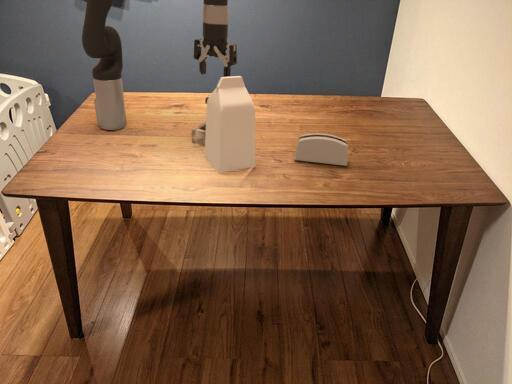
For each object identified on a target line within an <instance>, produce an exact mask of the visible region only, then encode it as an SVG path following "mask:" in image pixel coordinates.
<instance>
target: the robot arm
mask: <svg viewBox="0 0 512 384" xmlns="http://www.w3.org/2000/svg"><path fill="white" fill-rule="evenodd" d="M115 1H116V0H86V6H85V7H86V9H85V14H84V20H83V27H82V34H81V44H82V48H83V50H84V52H85V54H86V55H87V57H89V58H92V59H99V62H98V63H97V64H96V65H95V66H94V67H93V68H92V71H91V72H92V81H93V88H94V95H95V96H94V97H95V98H94V99H93V102H94V109H95V110H94V111H95V115H96V116H95V117H96V122H97V126H99V127H100V129H102V130H105V131H106V130H108V131H109V130H110V131H111V130H113V131H115V130H120V129H123V128H126V127H127V124H128V123H127V114H126V105H125V97H124V95H125V94H124V86H123V79H122V71H123V66H124V65H123V63H124V62H123V47H122V39H121V37H120V35H119V32H118V31H117V30H116V29H115V27H113V26H111V25H106V23H107V17H108V15H109V12H110V10H111V9H112V6H113V5H114V3H115ZM228 1H229V0H203V9H202V37H203V38H197V39H194V40H193V45H194V46H193V59H194V60H196V61H198V62H199V64H198V65H199V66H198V67H199V69H198V70H199V73H200V74H201V75H206V74H207V61H206V60H207V59H208V58H209V57H214V58H219V60H220V61H221V62H222V64H223V65H224V66H223V77H231V69H232V68H231V67H232V66H235V65H237V63H238V59H237V57H238V54H237V53H238V52H237V51H238V50H237V44H235V43H234V44H229V43H228V38H229V37H228V35H229V34H228V30H229V8H228V7H229V6H228V3H229V2H228ZM202 47H203V48H204V49H203V51H202Z"/></svg>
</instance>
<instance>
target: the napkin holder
mask: <svg viewBox="0 0 512 384" xmlns="http://www.w3.org/2000/svg"><path fill="white" fill-rule="evenodd" d="M348 153H349V143H348V141H347V140H346V139H345V138H342V137H339V136H337V135H333V134H329V133H317V132H316V133H305V134H302V135H300V137H299V138H298V140H297V145H296V148H295V151H294V157H293V159H294V161H300V162H301V161H302V162H309V163H310V162H311V163H318V164H319V163H320V164H327V165H335V166H344V167H347V166H348V159H349V157H348V155H349V154H348Z"/></svg>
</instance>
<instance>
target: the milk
mask: <svg viewBox="0 0 512 384" xmlns="http://www.w3.org/2000/svg"><path fill="white" fill-rule="evenodd" d="M208 97H209V98H208V100H207V104H206V114H205V118H206V119H205V122H206V135H205V146H204V159H205V160H206V161H207V162H208V163H209V164H210V165H211V167H212V168H214V169H215V170H216V172H217V173H218V174H221V173H226V172H231V171H232V172H233V171H236V170H243V169H244V170H245V169H249V168H255V167H256V108H255V104H254V101H253V99H252V97H251V96H250V94H249V91H248V90H247V88H246V85H245V83H244V79H243V76H241V75H234V76H233V75H232V76H231V75H230V77H224V76H220V79H219V80H218V83H217V85H216V87H215V89H214V90H213V91H212V92H211V94H210V95H209V96H208Z"/></svg>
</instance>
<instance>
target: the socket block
mask: <svg viewBox="0 0 512 384" xmlns="http://www.w3.org/2000/svg"><path fill="white" fill-rule="evenodd" d="M205 135H206V121H205V122H203V123H201V124H199V125H197V126H195V127H194V128H191V143H192V144H195V145H199V146H203V147H205Z"/></svg>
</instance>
